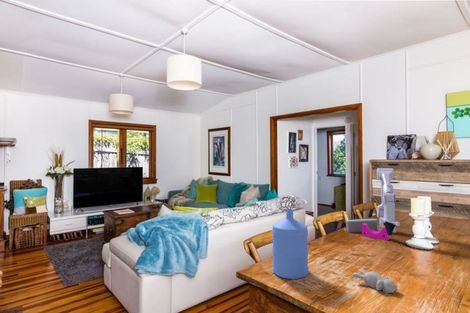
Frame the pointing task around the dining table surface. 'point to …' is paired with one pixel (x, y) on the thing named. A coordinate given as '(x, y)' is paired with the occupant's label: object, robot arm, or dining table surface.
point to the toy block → (375, 233)
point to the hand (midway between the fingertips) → (389, 234)
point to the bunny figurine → (377, 281)
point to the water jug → (290, 248)
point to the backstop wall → (360, 225)
